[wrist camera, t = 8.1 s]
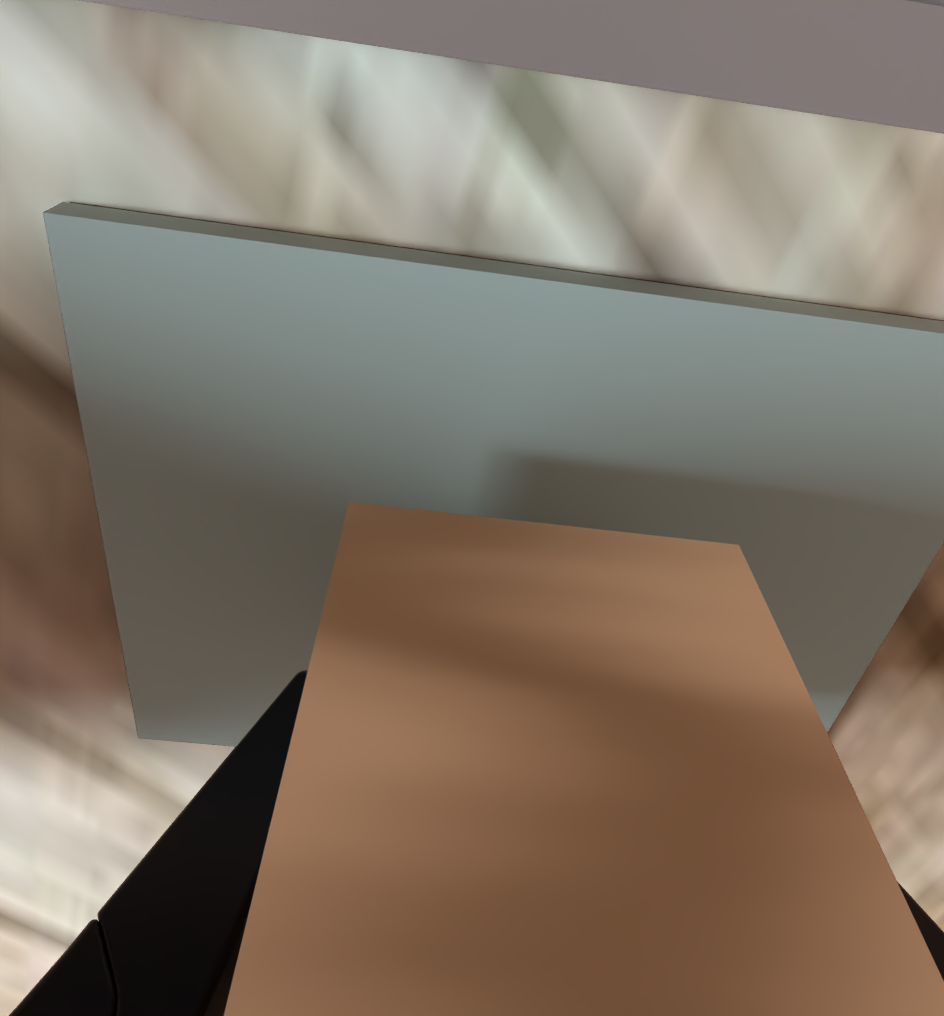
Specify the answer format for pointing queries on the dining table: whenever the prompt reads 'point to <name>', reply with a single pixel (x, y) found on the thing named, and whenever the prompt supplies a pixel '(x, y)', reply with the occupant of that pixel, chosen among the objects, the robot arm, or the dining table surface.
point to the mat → (468, 437)
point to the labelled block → (564, 794)
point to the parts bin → (655, 44)
